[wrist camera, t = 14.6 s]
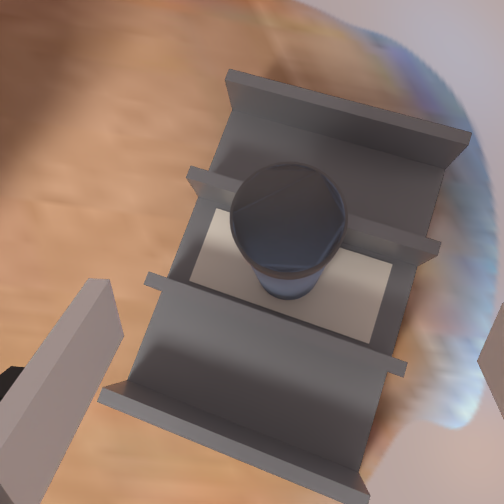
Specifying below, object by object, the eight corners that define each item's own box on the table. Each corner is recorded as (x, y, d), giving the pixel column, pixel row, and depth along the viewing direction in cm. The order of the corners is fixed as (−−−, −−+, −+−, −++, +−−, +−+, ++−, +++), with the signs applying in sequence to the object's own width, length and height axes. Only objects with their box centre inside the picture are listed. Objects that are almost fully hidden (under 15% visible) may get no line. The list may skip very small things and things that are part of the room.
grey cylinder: (246, 289, 26) (213, 254, 14) (267, 229, 27) (251, 148, 15) (309, 310, 26) (328, 291, 14) (329, 248, 26) (362, 179, 14)
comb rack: (129, 395, 27) (94, 408, 22) (240, 106, 30) (231, 63, 26) (348, 484, 25) (363, 520, 20) (441, 162, 28) (473, 126, 23)
